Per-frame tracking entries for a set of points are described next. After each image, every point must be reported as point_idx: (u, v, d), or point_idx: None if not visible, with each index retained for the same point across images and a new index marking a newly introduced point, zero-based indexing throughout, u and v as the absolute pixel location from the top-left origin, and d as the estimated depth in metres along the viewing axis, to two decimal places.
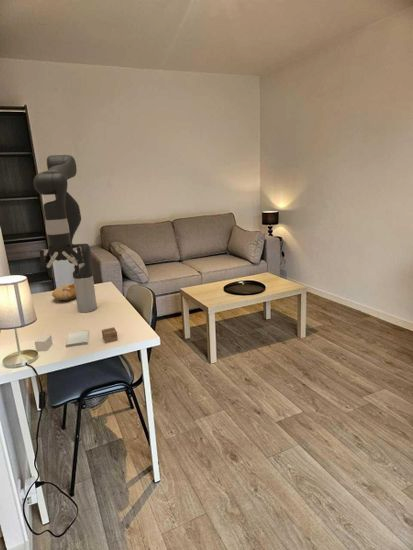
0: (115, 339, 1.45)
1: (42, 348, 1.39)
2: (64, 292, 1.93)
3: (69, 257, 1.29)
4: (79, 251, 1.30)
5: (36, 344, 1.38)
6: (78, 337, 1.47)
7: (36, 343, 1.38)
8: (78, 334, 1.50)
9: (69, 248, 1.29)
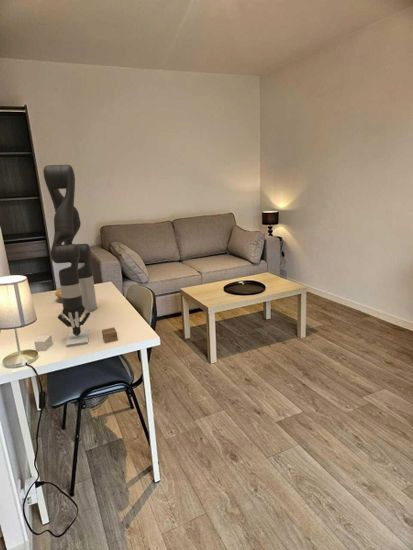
0: (115, 339, 1.45)
1: (41, 348, 1.39)
2: None
3: (77, 318, 1.44)
4: (87, 316, 1.45)
5: (36, 344, 1.38)
6: (78, 337, 1.47)
7: (36, 343, 1.38)
8: None
9: (82, 309, 1.44)
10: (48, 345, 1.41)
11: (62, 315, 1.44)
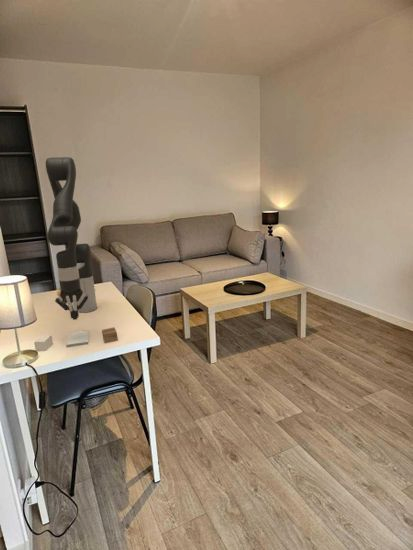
0: (115, 339, 1.45)
1: (41, 348, 1.39)
2: None
3: (75, 302, 1.43)
4: (85, 299, 1.44)
5: (36, 344, 1.39)
6: (78, 337, 1.47)
7: (36, 343, 1.38)
8: (78, 334, 1.50)
9: (80, 292, 1.43)
10: (48, 345, 1.41)
11: (60, 298, 1.42)
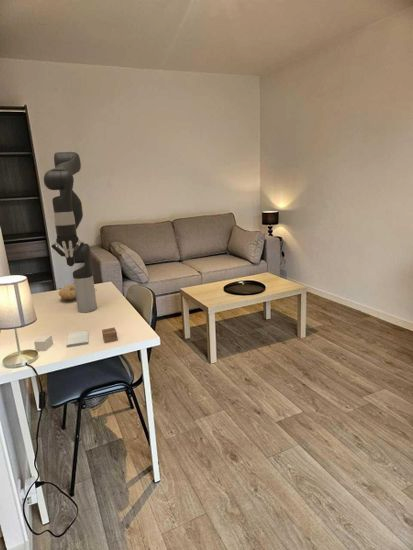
0: (115, 339, 1.45)
1: (41, 348, 1.39)
2: (72, 291, 1.94)
3: (71, 248, 1.45)
4: (81, 246, 1.46)
5: (35, 344, 1.39)
6: (78, 337, 1.47)
7: (35, 343, 1.38)
8: (79, 335, 1.50)
9: (76, 238, 1.45)
10: (48, 345, 1.41)
11: (56, 244, 1.44)
